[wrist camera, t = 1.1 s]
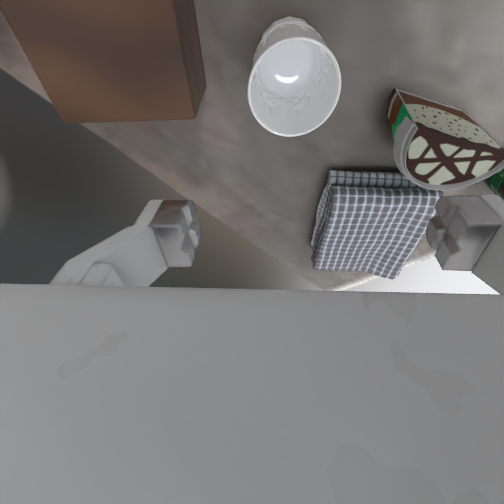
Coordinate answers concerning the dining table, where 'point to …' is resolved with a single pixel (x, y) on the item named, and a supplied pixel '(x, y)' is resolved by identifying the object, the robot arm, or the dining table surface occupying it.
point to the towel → (370, 222)
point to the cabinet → (113, 57)
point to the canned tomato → (496, 183)
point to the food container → (440, 143)
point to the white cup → (293, 79)
